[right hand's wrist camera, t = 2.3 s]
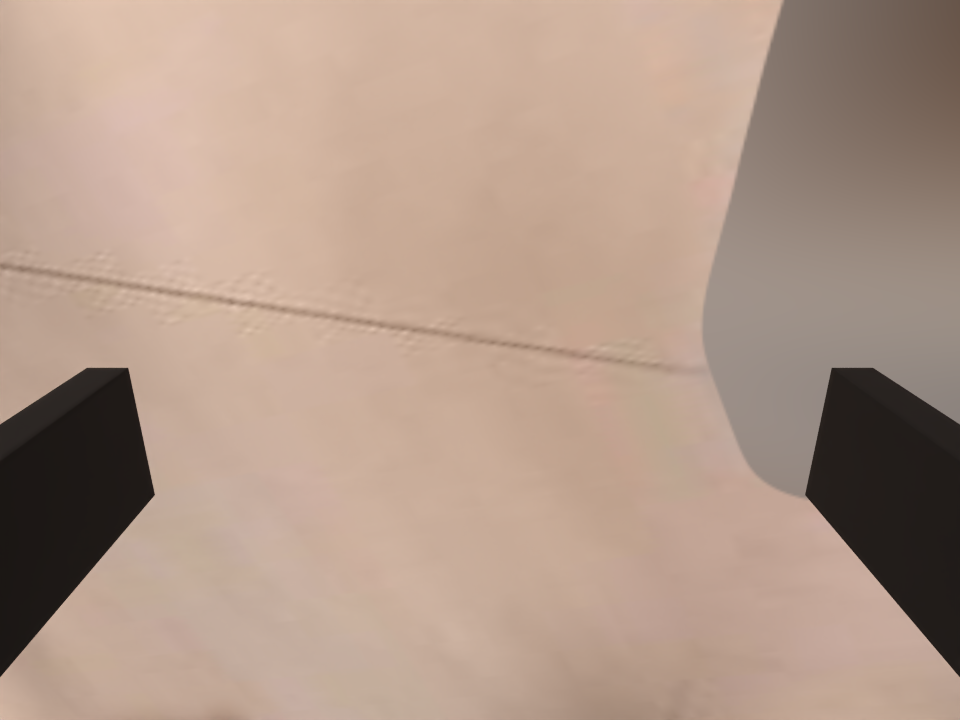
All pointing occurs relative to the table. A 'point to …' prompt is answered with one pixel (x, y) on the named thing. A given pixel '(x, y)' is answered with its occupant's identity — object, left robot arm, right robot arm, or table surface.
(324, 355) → the table surface
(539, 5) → the table surface
